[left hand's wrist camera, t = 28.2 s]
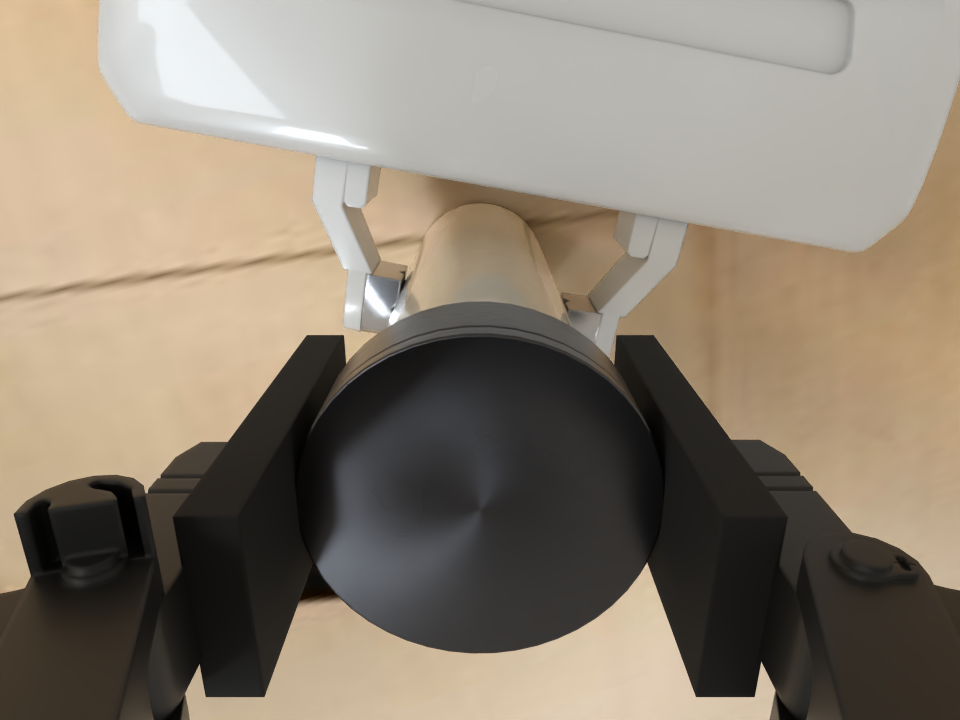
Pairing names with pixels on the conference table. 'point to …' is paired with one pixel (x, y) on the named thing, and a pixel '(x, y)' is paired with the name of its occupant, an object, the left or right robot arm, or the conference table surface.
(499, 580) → the lid
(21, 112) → the conference table surface
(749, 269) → the conference table surface
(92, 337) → the conference table surface
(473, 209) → the jar
